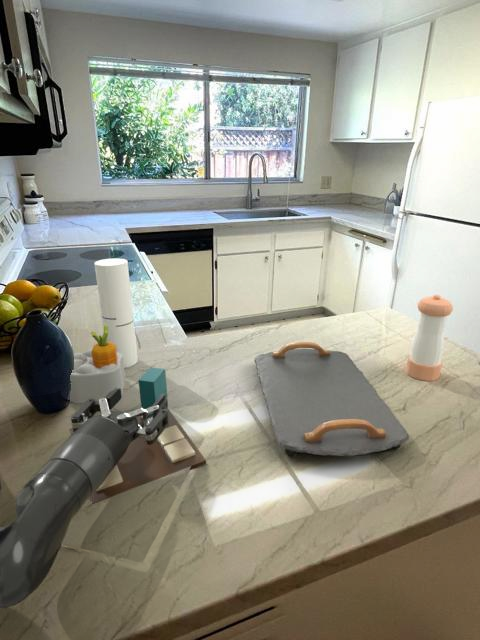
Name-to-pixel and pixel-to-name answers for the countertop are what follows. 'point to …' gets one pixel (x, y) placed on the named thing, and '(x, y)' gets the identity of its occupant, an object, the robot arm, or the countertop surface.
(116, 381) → the lumpy-topped squat cylinder
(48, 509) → the robot arm
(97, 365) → the carrot
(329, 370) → the serving tray
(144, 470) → the word board
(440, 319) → the pepper shaker
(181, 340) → the countertop surface
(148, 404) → the teal rectangular block
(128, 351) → the cylindrical container
